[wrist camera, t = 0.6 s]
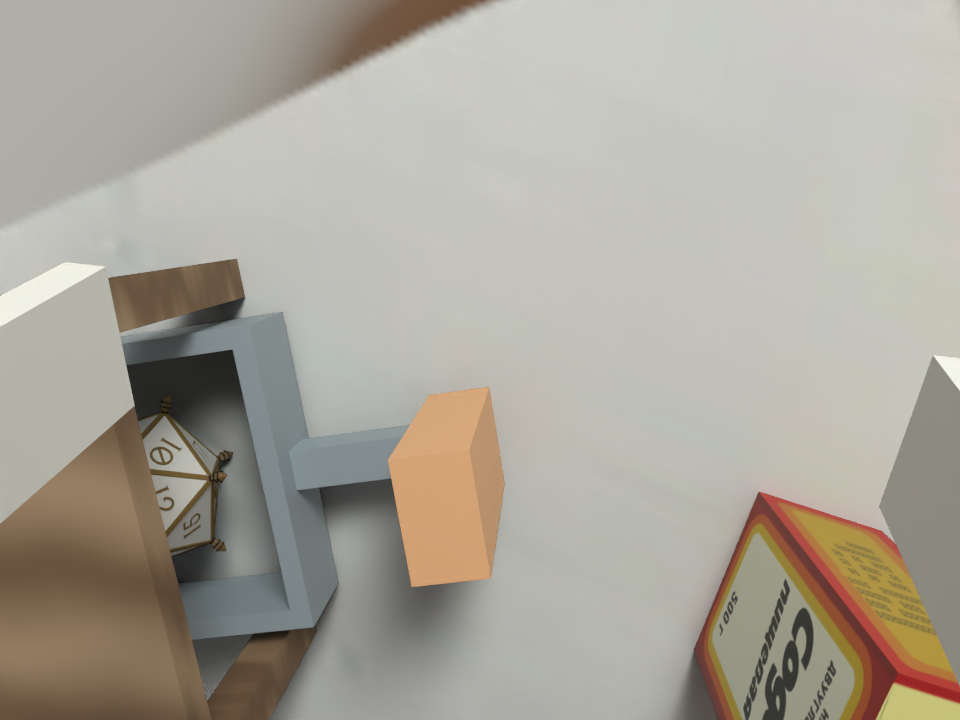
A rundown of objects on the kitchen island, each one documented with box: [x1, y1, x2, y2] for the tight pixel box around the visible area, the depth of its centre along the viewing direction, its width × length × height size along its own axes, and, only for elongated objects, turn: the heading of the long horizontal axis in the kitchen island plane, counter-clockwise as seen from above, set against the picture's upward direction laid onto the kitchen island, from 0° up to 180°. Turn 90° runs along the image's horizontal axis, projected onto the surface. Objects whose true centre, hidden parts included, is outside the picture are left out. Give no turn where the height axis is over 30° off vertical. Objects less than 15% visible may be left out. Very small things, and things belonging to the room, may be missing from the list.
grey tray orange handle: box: [120, 312, 505, 640], centre depth 35 cm, size 15×25×12 cm, turn 99°
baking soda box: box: [694, 492, 960, 720], centre depth 32 cm, size 10×6×16 cm
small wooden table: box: [0, 259, 317, 720], centre depth 35 cm, size 21×11×14 cm, turn 9°
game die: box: [138, 394, 233, 557], centre depth 37 cm, size 9×8×10 cm
